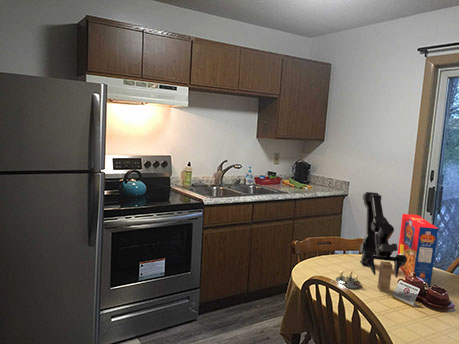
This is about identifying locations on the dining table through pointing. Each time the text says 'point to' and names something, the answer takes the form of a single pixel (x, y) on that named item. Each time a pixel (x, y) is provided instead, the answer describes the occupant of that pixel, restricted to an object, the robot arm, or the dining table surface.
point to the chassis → (348, 281)
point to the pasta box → (417, 246)
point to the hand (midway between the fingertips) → (385, 275)
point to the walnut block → (384, 276)
